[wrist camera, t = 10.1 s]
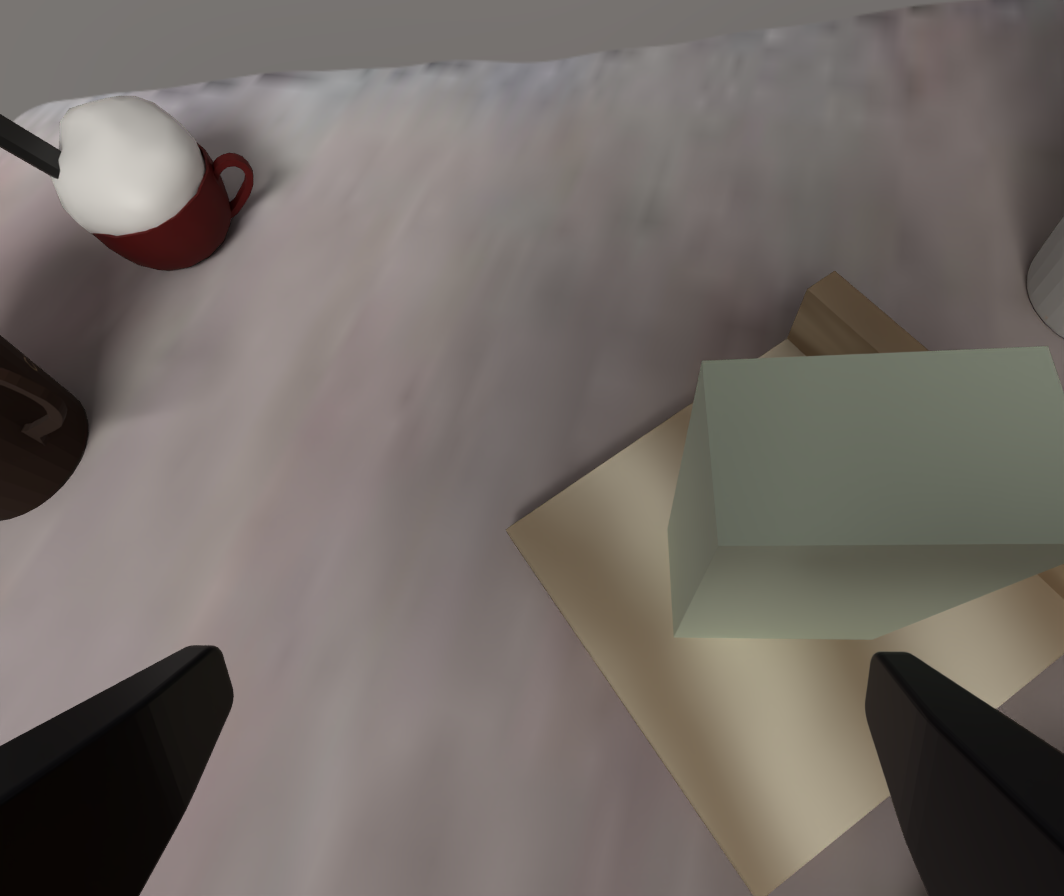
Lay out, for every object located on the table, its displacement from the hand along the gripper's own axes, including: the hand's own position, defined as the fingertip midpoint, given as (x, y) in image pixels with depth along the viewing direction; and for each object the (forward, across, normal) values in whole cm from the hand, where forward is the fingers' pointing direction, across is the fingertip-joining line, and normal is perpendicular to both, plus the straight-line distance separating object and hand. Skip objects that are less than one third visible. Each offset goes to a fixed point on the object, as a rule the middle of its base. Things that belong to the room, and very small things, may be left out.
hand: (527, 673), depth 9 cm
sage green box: (+12, -6, +6) cm, 14 cm away
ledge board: (+13, -7, +6) cm, 16 cm away
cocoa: (+25, +20, -5) cm, 32 cm away
